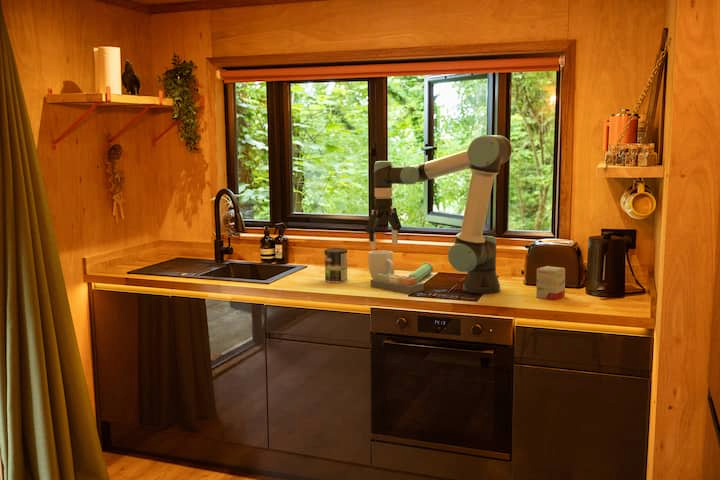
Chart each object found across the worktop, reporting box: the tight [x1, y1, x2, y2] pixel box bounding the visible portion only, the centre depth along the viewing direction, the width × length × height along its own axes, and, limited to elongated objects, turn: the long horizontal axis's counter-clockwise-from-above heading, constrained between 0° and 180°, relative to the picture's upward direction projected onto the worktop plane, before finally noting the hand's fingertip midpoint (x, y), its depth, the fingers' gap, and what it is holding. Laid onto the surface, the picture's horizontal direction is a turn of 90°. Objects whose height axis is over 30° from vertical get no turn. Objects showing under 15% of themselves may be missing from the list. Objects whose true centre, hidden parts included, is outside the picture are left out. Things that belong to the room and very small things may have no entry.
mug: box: [367, 249, 395, 280], centre depth 319 cm, size 15×11×13 cm
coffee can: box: [323, 247, 348, 284], centre depth 323 cm, size 10×10×14 cm
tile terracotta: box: [400, 275, 417, 286], centre depth 300 cm, size 5×5×4 cm
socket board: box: [370, 279, 425, 295], centre depth 305 cm, size 22×9×3 cm, turn 46°
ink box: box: [535, 265, 566, 301], centre depth 285 cm, size 9×9×12 cm
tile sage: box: [377, 273, 393, 282], centre depth 309 cm, size 5×5×4 cm
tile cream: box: [388, 274, 406, 284], centre depth 305 cm, size 5×5×4 cm
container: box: [407, 262, 434, 283], centre depth 324 cm, size 6×6×25 cm
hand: (384, 246), depth 308 cm, fingers open, 13 cm apart
